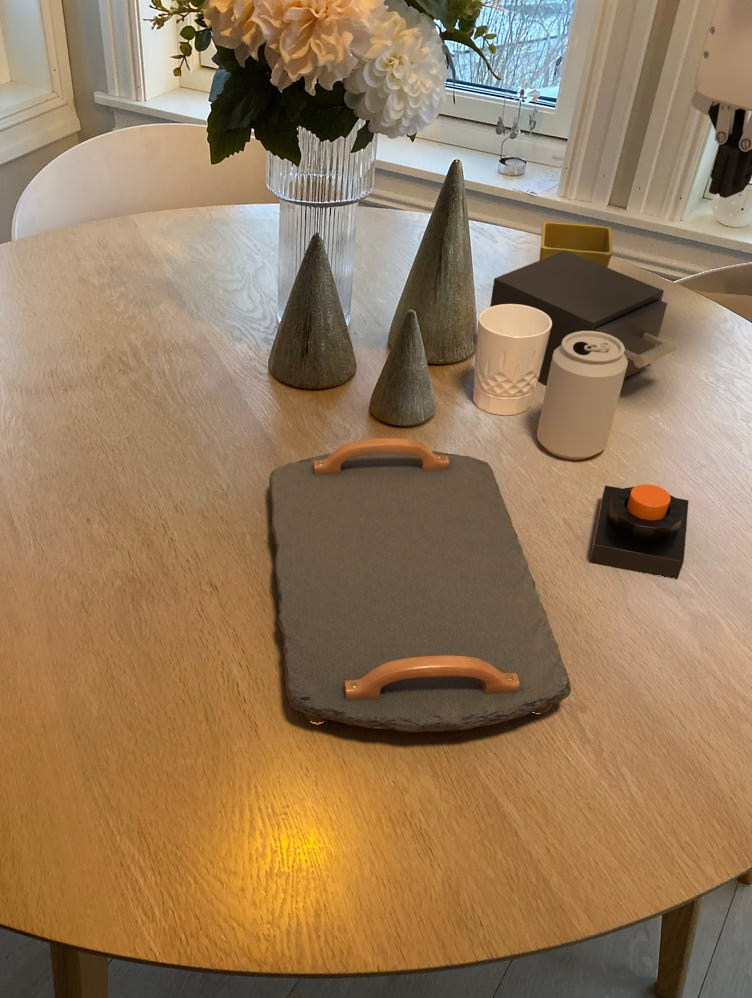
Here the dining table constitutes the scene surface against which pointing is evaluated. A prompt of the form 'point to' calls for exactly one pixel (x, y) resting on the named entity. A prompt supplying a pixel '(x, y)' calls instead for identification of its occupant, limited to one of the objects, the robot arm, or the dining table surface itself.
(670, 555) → the panel
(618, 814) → the dining table surface
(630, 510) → the button
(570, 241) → the flower pot
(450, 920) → the dining table surface
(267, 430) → the dining table surface
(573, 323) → the cabinet
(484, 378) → the white cup
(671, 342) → the drawer
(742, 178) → the robot arm
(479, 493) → the serving tray
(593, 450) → the can
